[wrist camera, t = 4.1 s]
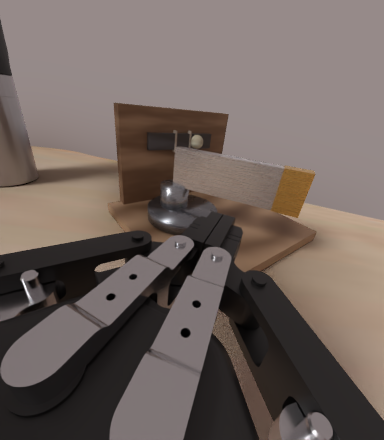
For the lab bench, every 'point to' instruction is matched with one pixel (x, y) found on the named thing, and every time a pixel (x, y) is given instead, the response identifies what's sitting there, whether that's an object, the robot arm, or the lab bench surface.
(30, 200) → the lab bench surface
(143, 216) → the levelling base
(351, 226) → the lab bench surface
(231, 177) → the cam foot
